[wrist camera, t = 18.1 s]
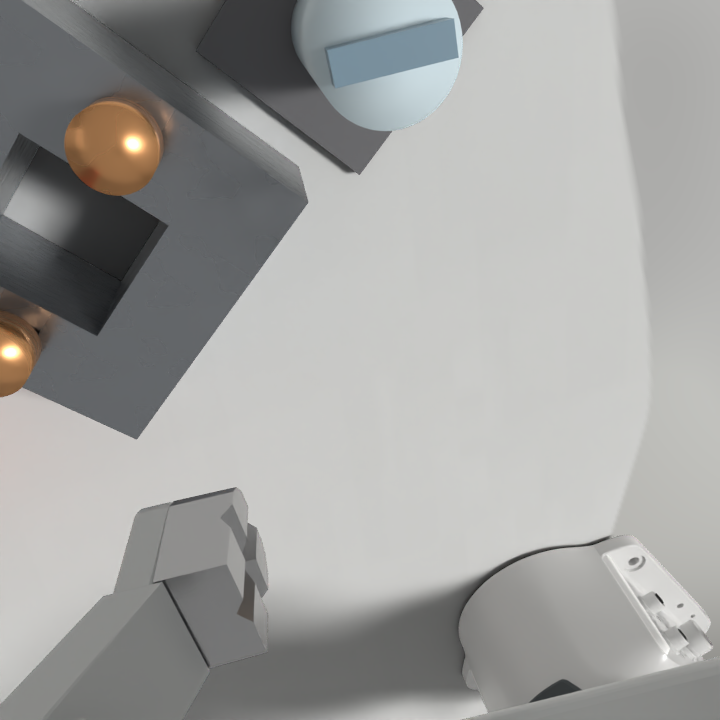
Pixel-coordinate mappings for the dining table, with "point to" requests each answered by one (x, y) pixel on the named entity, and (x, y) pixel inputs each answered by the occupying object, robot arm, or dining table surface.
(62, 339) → the housing
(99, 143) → the copper dome knob
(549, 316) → the dining table surface
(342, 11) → the cartridge
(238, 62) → the pad
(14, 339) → the copper knob
